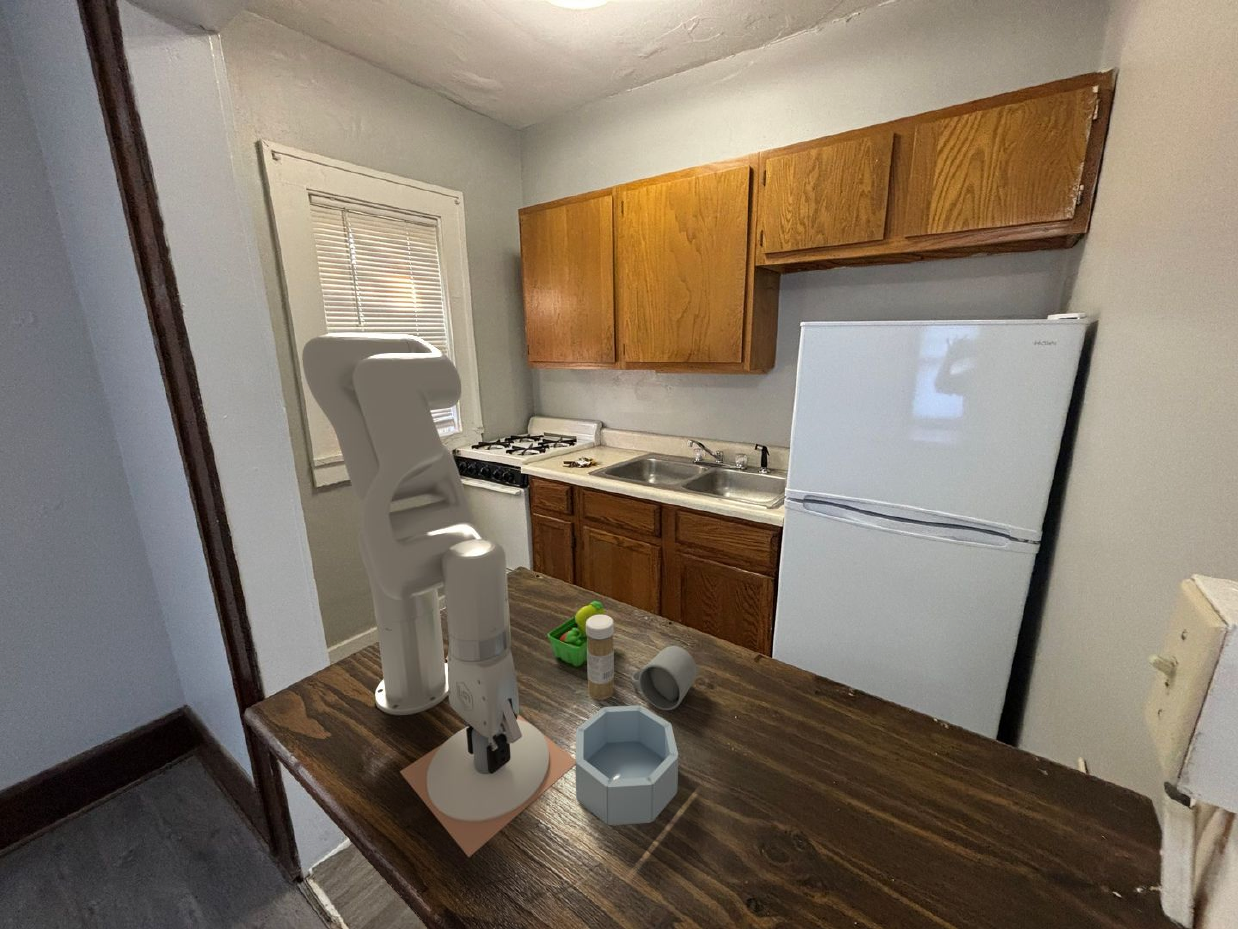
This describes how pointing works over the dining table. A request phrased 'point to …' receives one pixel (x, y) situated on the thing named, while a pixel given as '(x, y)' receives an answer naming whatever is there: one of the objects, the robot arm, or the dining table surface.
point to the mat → (481, 832)
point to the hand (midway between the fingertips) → (489, 755)
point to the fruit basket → (574, 635)
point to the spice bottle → (600, 656)
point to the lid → (486, 776)
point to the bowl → (626, 764)
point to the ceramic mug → (666, 677)
